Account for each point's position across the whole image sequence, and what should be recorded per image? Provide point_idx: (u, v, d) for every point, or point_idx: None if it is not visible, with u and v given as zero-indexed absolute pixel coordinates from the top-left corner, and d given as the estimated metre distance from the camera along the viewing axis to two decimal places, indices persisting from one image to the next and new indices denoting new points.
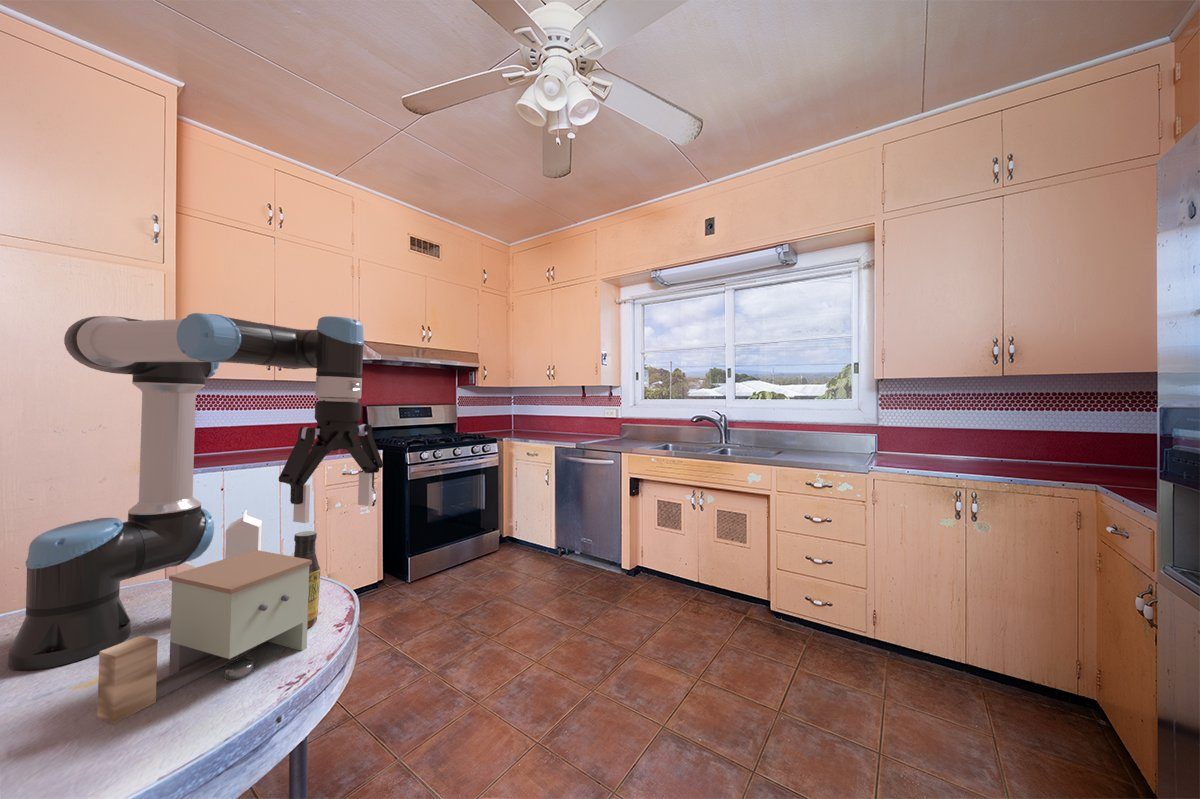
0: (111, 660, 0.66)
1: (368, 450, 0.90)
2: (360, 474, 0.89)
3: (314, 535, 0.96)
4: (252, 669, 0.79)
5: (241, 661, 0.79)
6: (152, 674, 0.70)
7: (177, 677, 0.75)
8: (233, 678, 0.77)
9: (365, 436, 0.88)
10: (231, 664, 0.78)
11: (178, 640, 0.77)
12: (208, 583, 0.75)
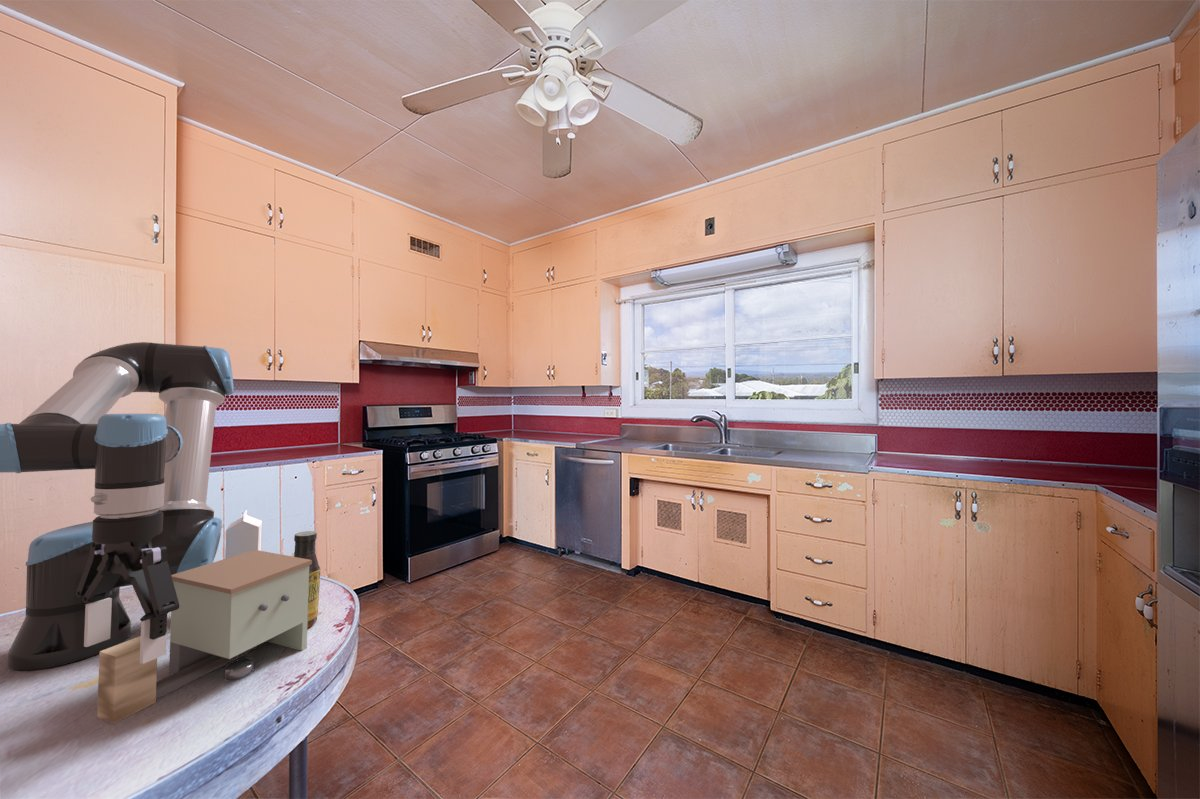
0: (112, 661, 0.66)
1: None
2: None
3: (314, 535, 0.96)
4: (252, 669, 0.79)
5: (241, 661, 0.79)
6: (152, 674, 0.70)
7: (177, 677, 0.75)
8: (233, 678, 0.77)
9: None
10: (231, 664, 0.78)
11: (178, 640, 0.77)
12: (208, 583, 0.75)
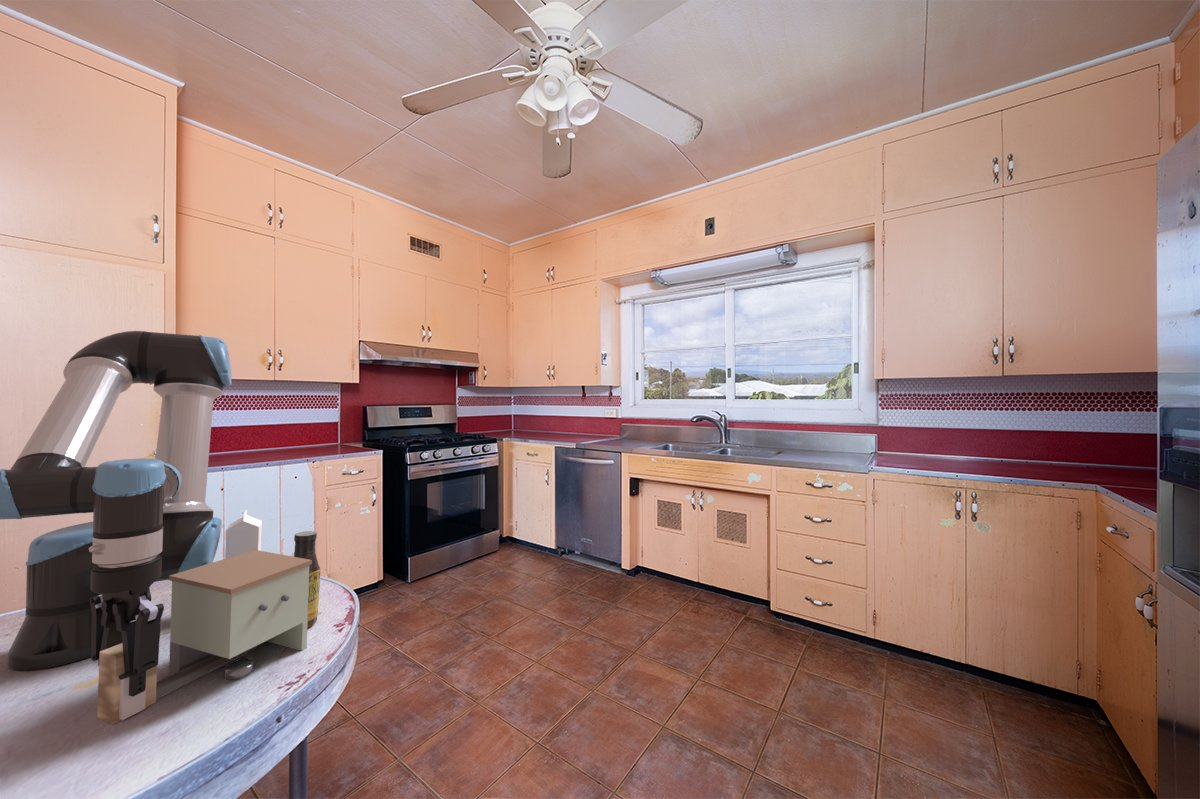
0: (112, 661, 0.66)
1: None
2: None
3: (314, 535, 0.96)
4: (252, 669, 0.79)
5: (241, 661, 0.79)
6: (152, 674, 0.70)
7: (177, 677, 0.75)
8: (233, 678, 0.77)
9: None
10: (231, 664, 0.78)
11: (178, 640, 0.77)
12: (208, 583, 0.75)
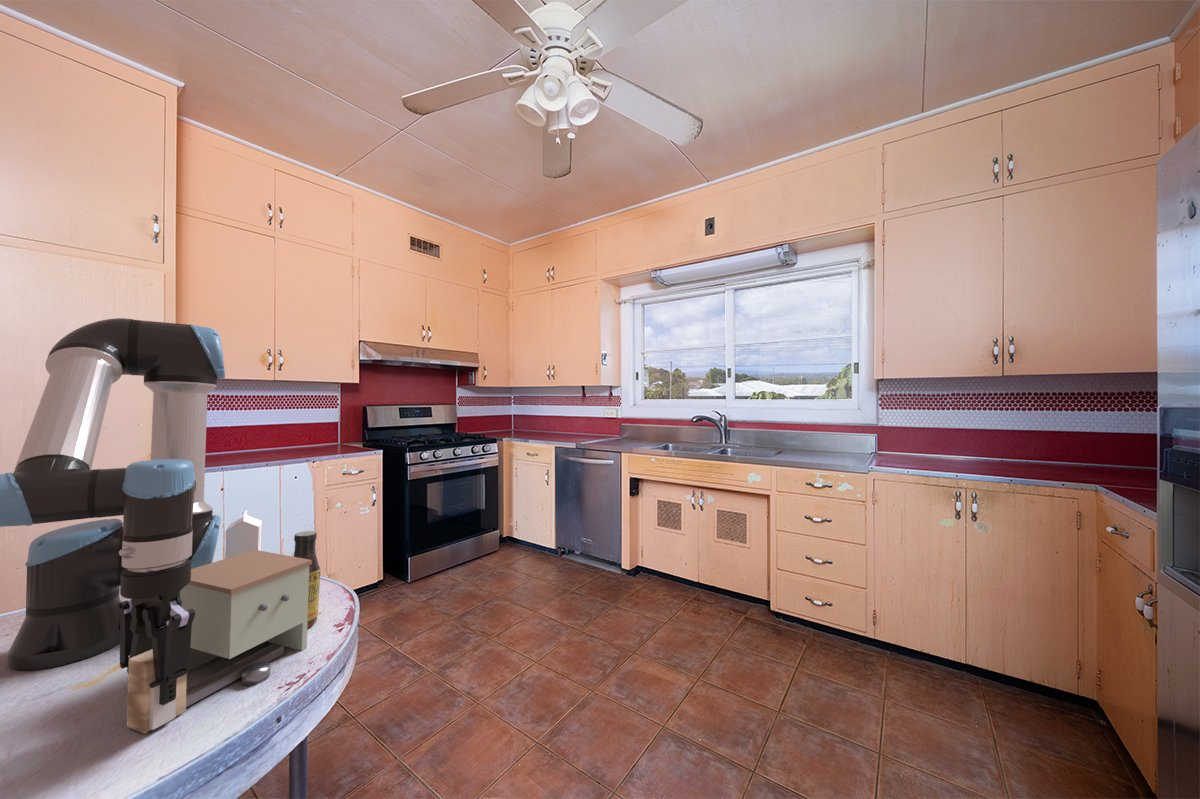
0: (142, 668, 0.64)
1: None
2: None
3: (314, 535, 0.96)
4: (269, 672, 0.78)
5: (257, 664, 0.78)
6: (182, 682, 0.68)
7: (206, 684, 0.72)
8: (250, 681, 0.75)
9: None
10: (247, 668, 0.77)
11: None
12: (208, 583, 0.75)
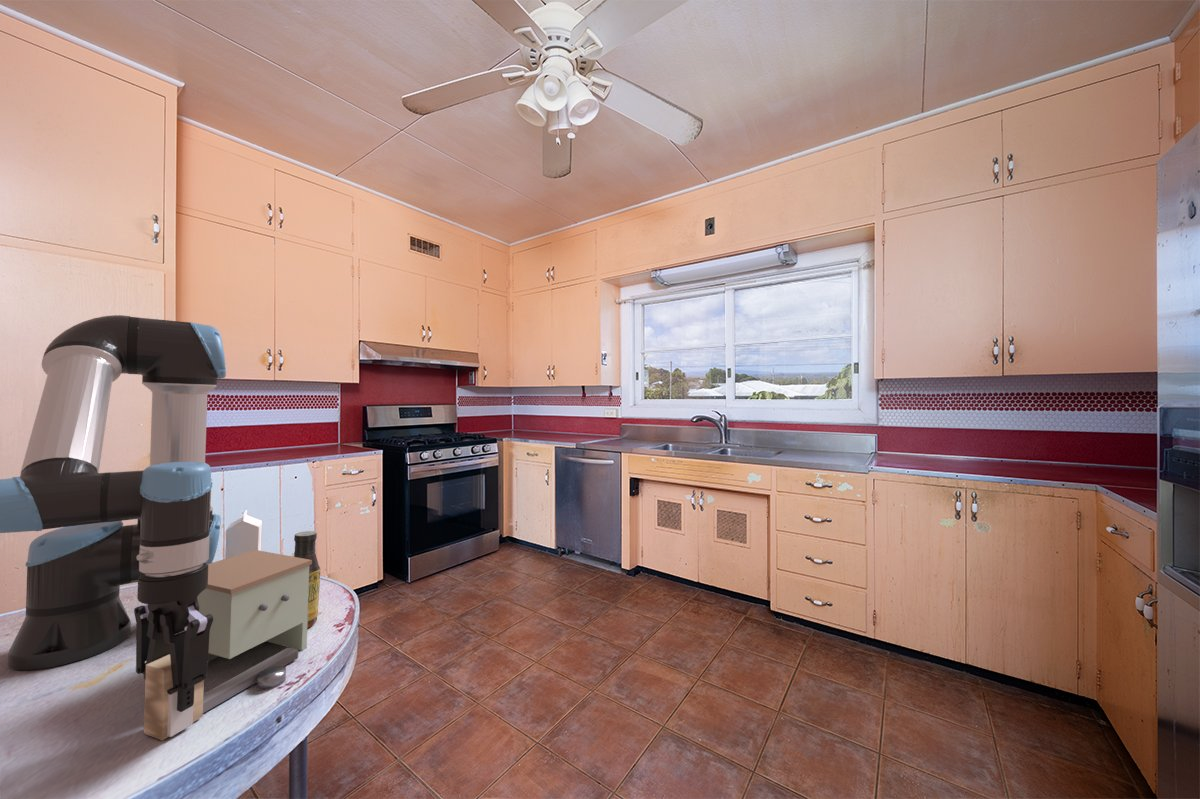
0: (159, 674, 0.63)
1: None
2: None
3: (314, 535, 0.96)
4: (284, 677, 0.77)
5: (273, 669, 0.77)
6: (199, 687, 0.67)
7: (222, 689, 0.71)
8: (266, 686, 0.74)
9: None
10: (263, 672, 0.76)
11: None
12: (208, 583, 0.75)
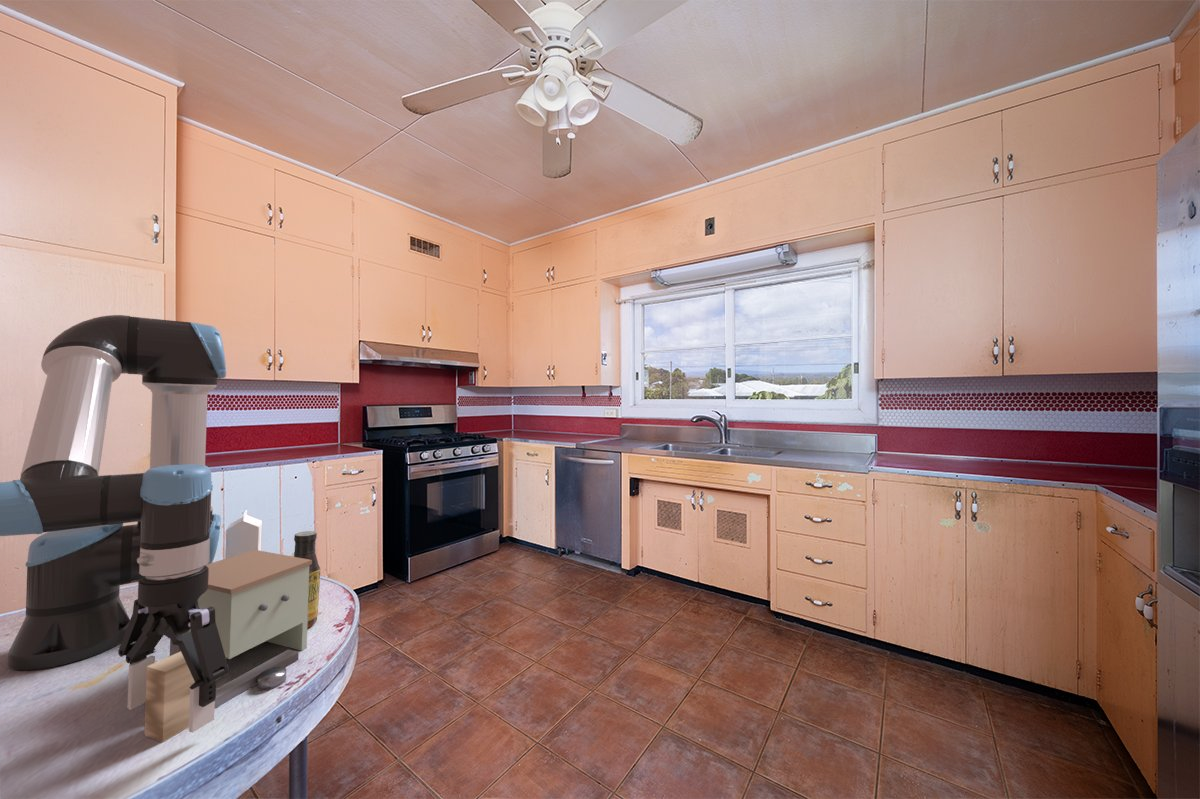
0: (160, 676, 0.63)
1: None
2: None
3: (314, 535, 0.96)
4: (285, 677, 0.77)
5: (273, 670, 0.77)
6: None
7: (223, 691, 0.71)
8: (267, 687, 0.74)
9: None
10: (263, 673, 0.76)
11: None
12: (208, 583, 0.75)
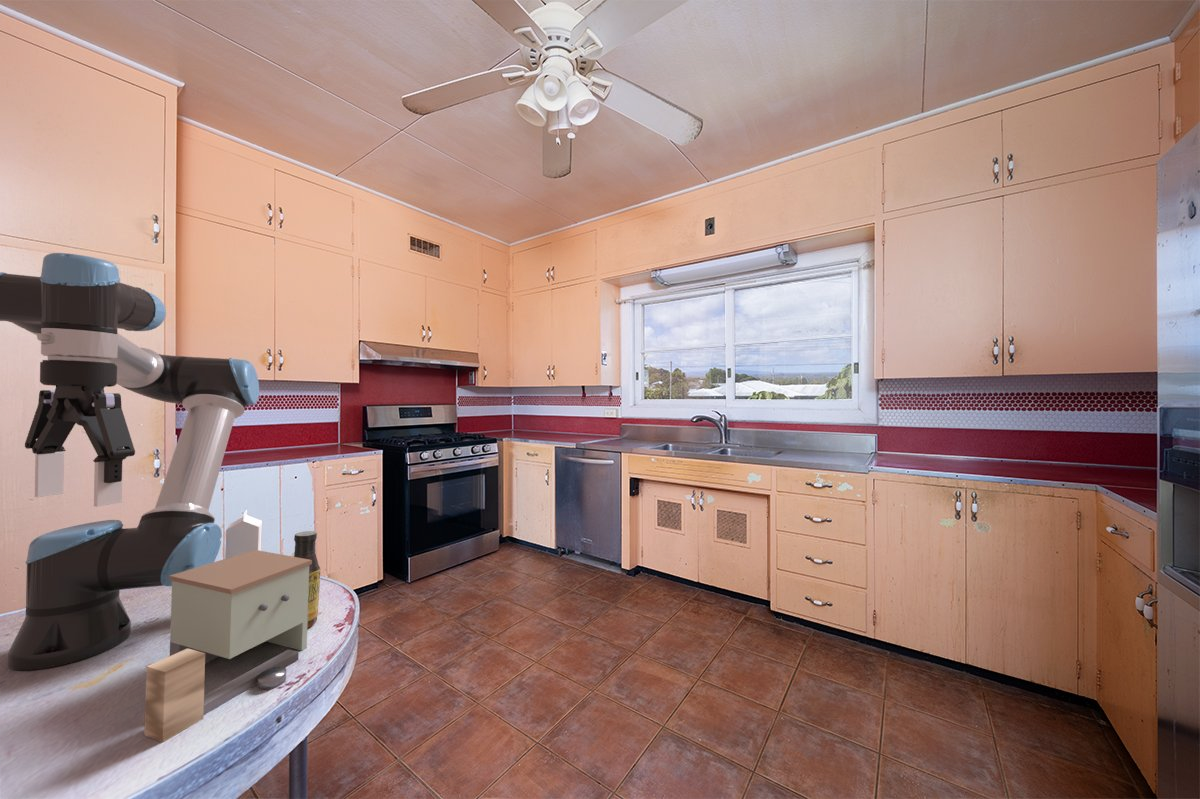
0: (160, 676, 0.63)
1: None
2: None
3: (314, 535, 0.96)
4: (285, 677, 0.77)
5: (273, 670, 0.77)
6: (200, 689, 0.67)
7: (223, 691, 0.71)
8: (267, 687, 0.74)
9: None
10: (263, 673, 0.76)
11: (178, 640, 0.77)
12: (208, 583, 0.75)
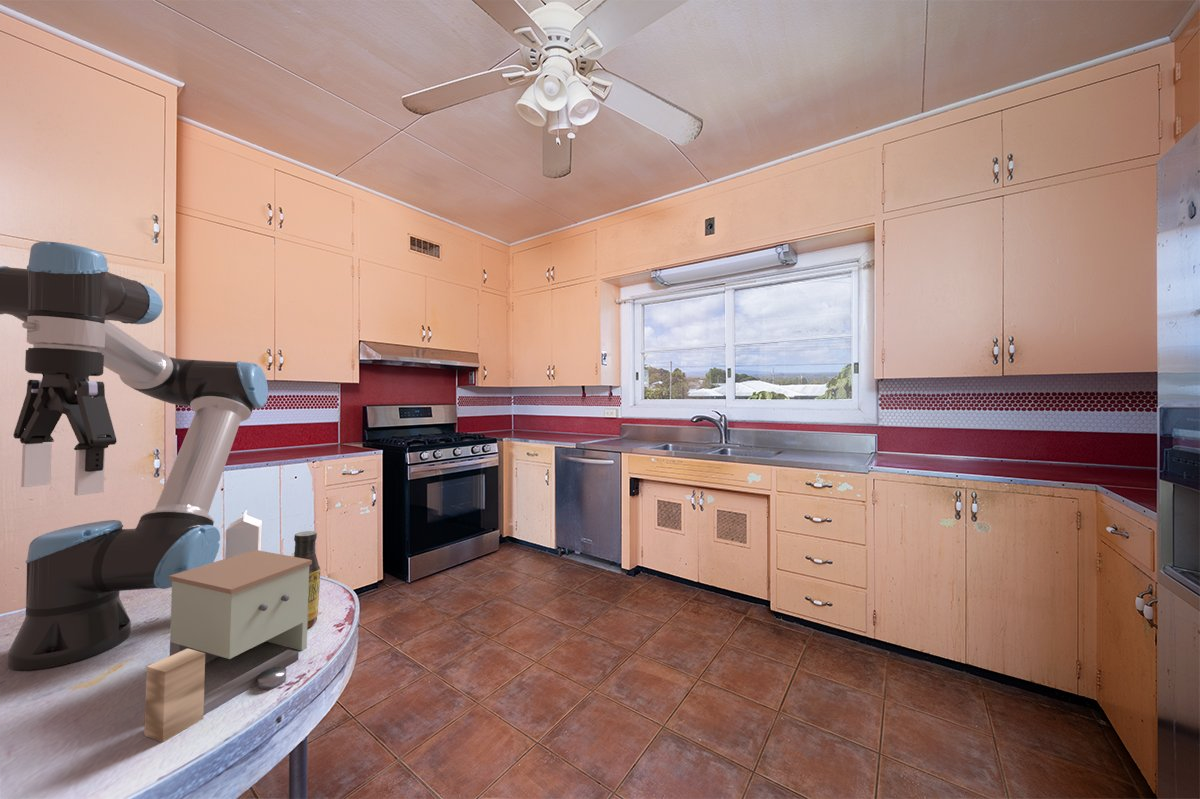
0: (160, 676, 0.63)
1: None
2: None
3: (314, 535, 0.96)
4: (285, 677, 0.77)
5: (273, 669, 0.77)
6: (200, 689, 0.67)
7: (223, 691, 0.71)
8: (267, 687, 0.74)
9: None
10: (263, 673, 0.76)
11: (178, 640, 0.77)
12: (208, 583, 0.75)
